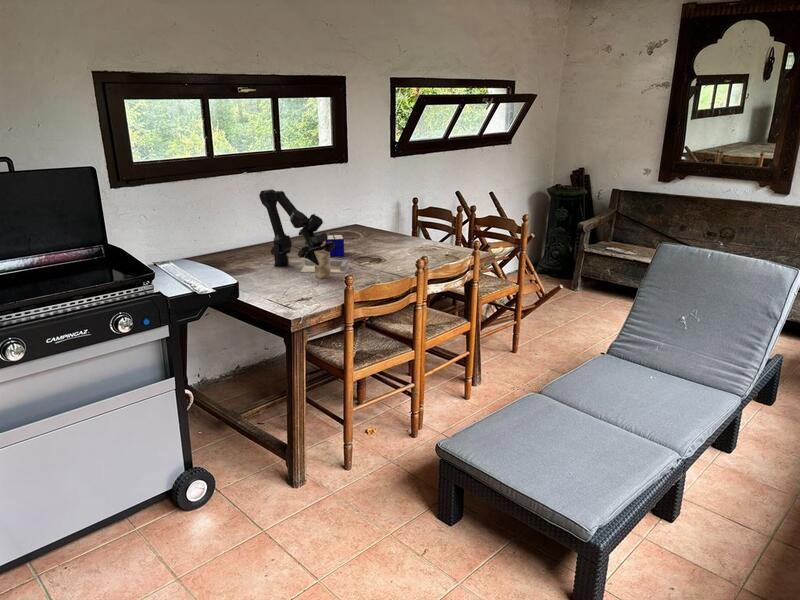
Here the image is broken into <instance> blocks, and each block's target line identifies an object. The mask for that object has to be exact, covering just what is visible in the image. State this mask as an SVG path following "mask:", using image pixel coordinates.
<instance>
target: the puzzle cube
mask: <svg viewBox="0 0 800 600" xmlns="http://www.w3.org/2000/svg"><path fill="white" fill-rule="evenodd" d="M327 236H328V239H326V241H324V243H323V244H324V245H325V243H327V242H333V243H334V244H335V246H334V248H333V249H332V251H331V252H330V258H336V257H335V256H342V257H345V239H344V236H343V235H342V234H340V235H337V234H336V235H335V234H334V235H327Z"/></svg>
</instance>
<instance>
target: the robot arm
mask: <svg viewBox="0 0 800 600" xmlns="http://www.w3.org/2000/svg"><path fill="white" fill-rule="evenodd" d="M258 196H259V199H260V202H261V204H262V205H263V206H264V207H265V208H266V211H267V214H268V218H269V220H270V224H271V226H272V227H271V228H272V231H273V234H274V237H273V247H272V248H271V250H270V253H271V255H273V257H274V264H273V267H284V268H285V267H288V265H290V257H289V255H288V254H289V253H291V248H292V244H293V242H292V240H291V237H290V235H287V234H286V233H285V231H284V227H283V224H282V220H281V217H280V214H279V211H278V207H277V204H279V205H280V206H281V207H282V209H283V210H284V211H285V213H287V215H288V217H289V222H290V223H291V225H292V226H293V228H294V229H299V231H298V236H302V237H303V239H304V241H305V242H304V245H305V246H301V247H300V248H299V250H298V252H297V256H298V258H299V259H301V258H304V259H307V260H310V261H312V262H313V263H315V264H316V265H318V266H319V262H318V260H317V258H316V257H315V255H314V253H315V252H320V251H327V252H331V251H332V249H333V248H334V246H335V244H334V243H333V242H327V243H325V244H324V243H323V242H324V241H326V239H328V236H329V235H328V234H327V233H326V232H322V233H320V234H315V233H316V232H318V230H319V229H320V227H321V226H323V224H324V221H323V219H322V217H320V216H318V215H316V214H315V213H313V214H311V215H310V216H309V217H308V216H307V215H305V214H304V213H303V212H301V211H299V210H298V209H297V208H296V206H294V204H293V203H292V202H291V200H290V199H289V198H288V196H287V195H286V193H285V191H283V190H274V189H273V188H271V189H263V190H261V191H260V193H259V195H258ZM323 244H324V245H323Z"/></svg>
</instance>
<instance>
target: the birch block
mask: <svg viewBox="0 0 800 600" xmlns="http://www.w3.org/2000/svg"><path fill="white" fill-rule="evenodd" d="M314 255H315V257H316V258H317V260H318V262H319V266H318V265H316V264H315V273H314V278H317V279H321V278H322V279H326V278H329V276H330V277H331V274H332V273H330V260H331V257H330V252H327V251H322V250H321V251H315V252H314ZM325 277H326V278H325Z"/></svg>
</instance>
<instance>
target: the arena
mask: <svg viewBox="0 0 800 600" xmlns="http://www.w3.org/2000/svg"><path fill="white" fill-rule="evenodd" d="M350 267H351V266H350V265H348V259H330V274H348V270H349V269H350ZM299 272H300V273H305V272H315V263H313V262H312V261H310V260H309V259H307V258H305V259H304V265H303V267H302V268H301V270H300V271H299Z"/></svg>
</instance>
